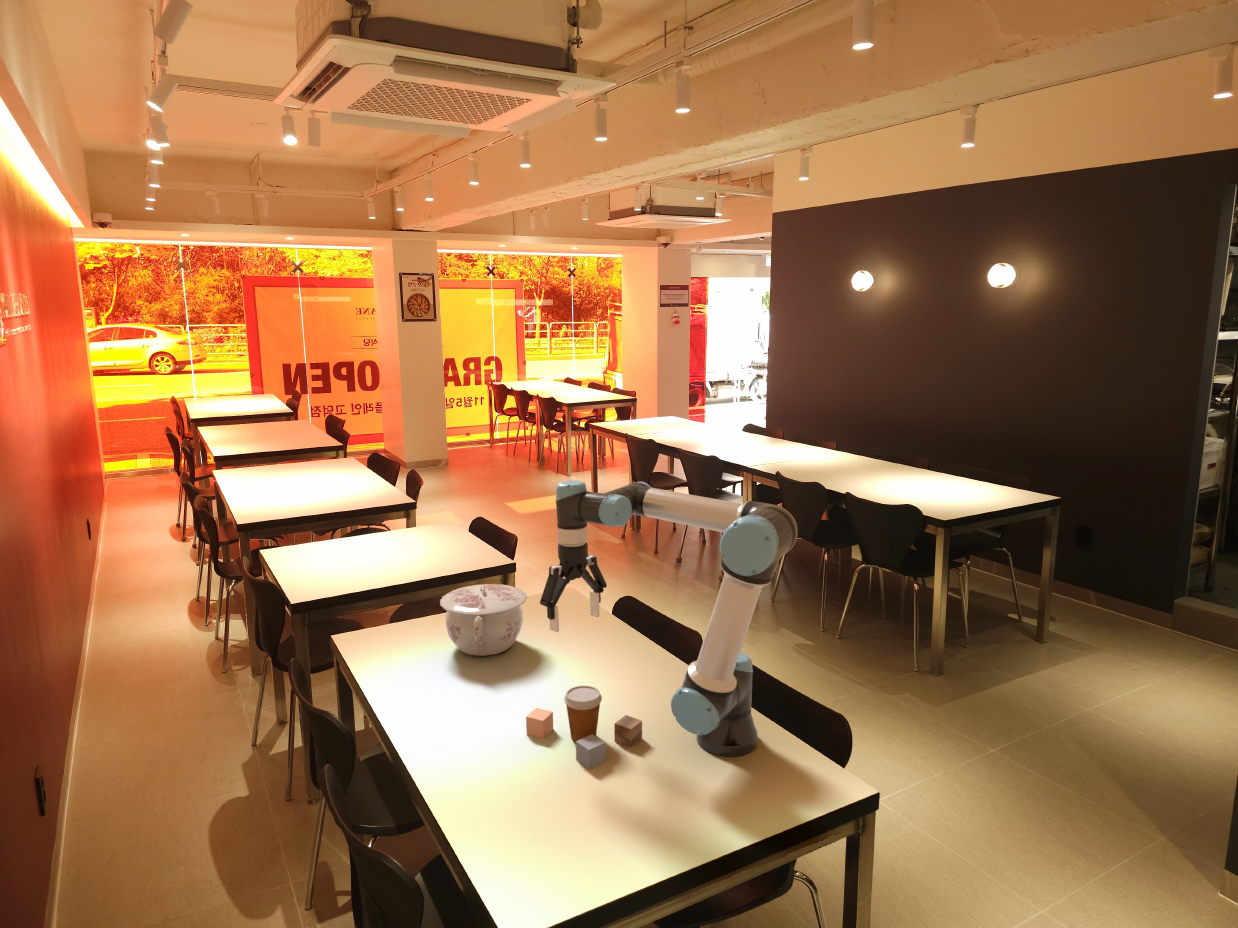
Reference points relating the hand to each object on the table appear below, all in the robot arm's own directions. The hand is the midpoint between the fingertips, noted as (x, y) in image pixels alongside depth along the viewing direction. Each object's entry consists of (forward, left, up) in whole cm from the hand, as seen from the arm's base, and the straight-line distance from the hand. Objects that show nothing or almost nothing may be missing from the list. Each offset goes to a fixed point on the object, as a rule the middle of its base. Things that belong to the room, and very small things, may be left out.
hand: (575, 623), depth 197 cm
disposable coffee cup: (-6, +3, -28) cm, 29 cm away
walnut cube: (-15, -4, -28) cm, 32 cm away
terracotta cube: (+4, +9, -28) cm, 30 cm away
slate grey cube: (-15, +9, -28) cm, 33 cm away
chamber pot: (+57, -12, -28) cm, 65 cm away
